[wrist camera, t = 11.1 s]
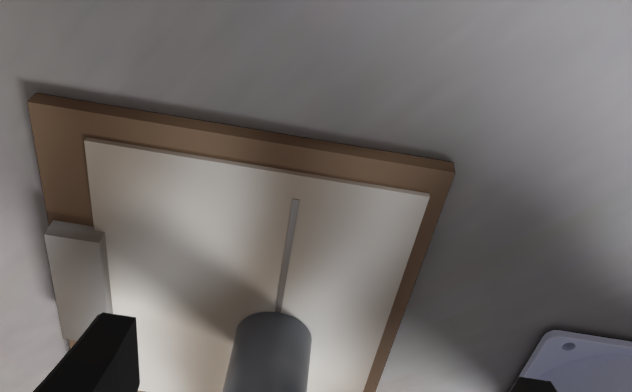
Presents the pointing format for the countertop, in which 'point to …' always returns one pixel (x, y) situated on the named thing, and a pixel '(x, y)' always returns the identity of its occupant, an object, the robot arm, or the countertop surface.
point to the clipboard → (230, 238)
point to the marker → (269, 355)
